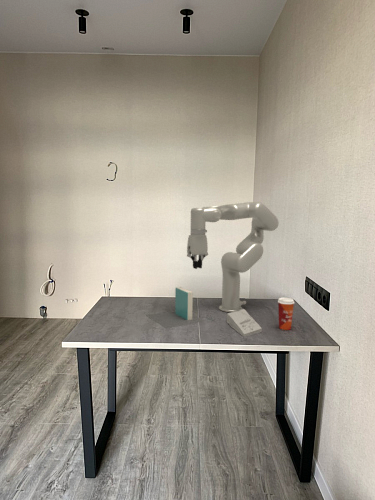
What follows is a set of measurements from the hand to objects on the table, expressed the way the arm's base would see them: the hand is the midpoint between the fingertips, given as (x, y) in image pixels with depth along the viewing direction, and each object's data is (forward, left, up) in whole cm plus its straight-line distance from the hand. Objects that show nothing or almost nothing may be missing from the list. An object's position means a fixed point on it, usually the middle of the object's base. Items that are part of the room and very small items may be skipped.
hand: (197, 267), depth 193 cm
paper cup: (-26, +37, -25) cm, 52 cm away
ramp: (-10, +26, -26) cm, 38 cm away
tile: (+8, 0, -25) cm, 26 cm away
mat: (+13, 0, -25) cm, 28 cm away
